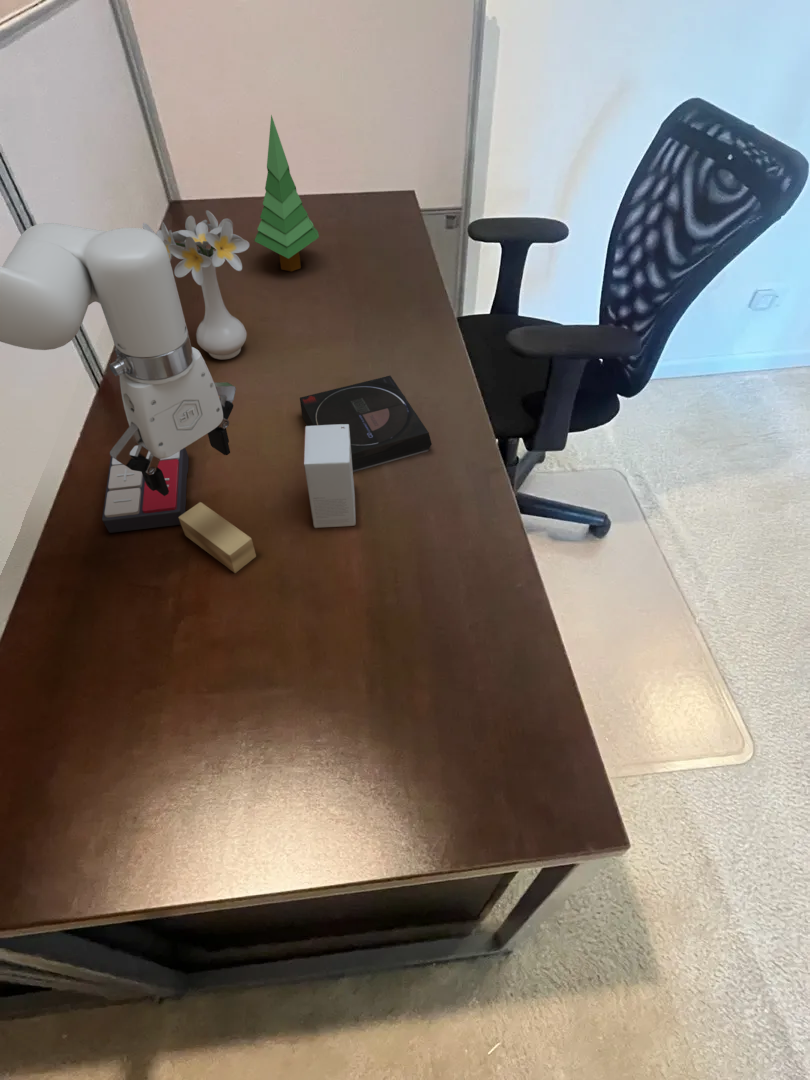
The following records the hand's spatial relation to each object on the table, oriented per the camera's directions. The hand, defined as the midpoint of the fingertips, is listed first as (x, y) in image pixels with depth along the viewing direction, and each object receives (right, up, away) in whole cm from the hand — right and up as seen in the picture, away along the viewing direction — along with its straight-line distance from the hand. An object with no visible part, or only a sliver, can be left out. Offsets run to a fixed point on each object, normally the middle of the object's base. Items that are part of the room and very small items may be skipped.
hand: (191, 469), depth 85 cm
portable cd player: (+20, +9, +28) cm, 36 cm away
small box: (+16, -4, +17) cm, 24 cm away
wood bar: (+1, -10, +12) cm, 15 cm away
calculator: (-12, -2, +19) cm, 22 cm away
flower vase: (-8, +27, +43) cm, 52 cm away
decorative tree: (+2, +52, +65) cm, 84 cm away
